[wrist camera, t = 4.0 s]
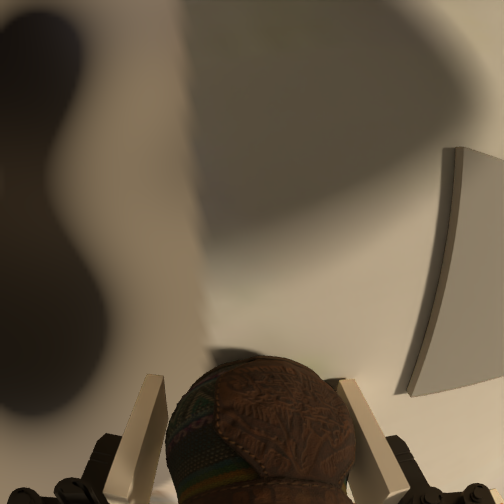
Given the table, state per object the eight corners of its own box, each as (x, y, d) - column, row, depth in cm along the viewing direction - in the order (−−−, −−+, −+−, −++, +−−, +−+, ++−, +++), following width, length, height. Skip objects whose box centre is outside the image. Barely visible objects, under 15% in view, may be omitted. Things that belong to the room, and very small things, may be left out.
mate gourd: (281, 461, 15) (302, 619, 5) (151, 416, 14) (98, 592, 4) (363, 370, 13) (459, 553, 4) (212, 302, 12) (160, 564, 2)
